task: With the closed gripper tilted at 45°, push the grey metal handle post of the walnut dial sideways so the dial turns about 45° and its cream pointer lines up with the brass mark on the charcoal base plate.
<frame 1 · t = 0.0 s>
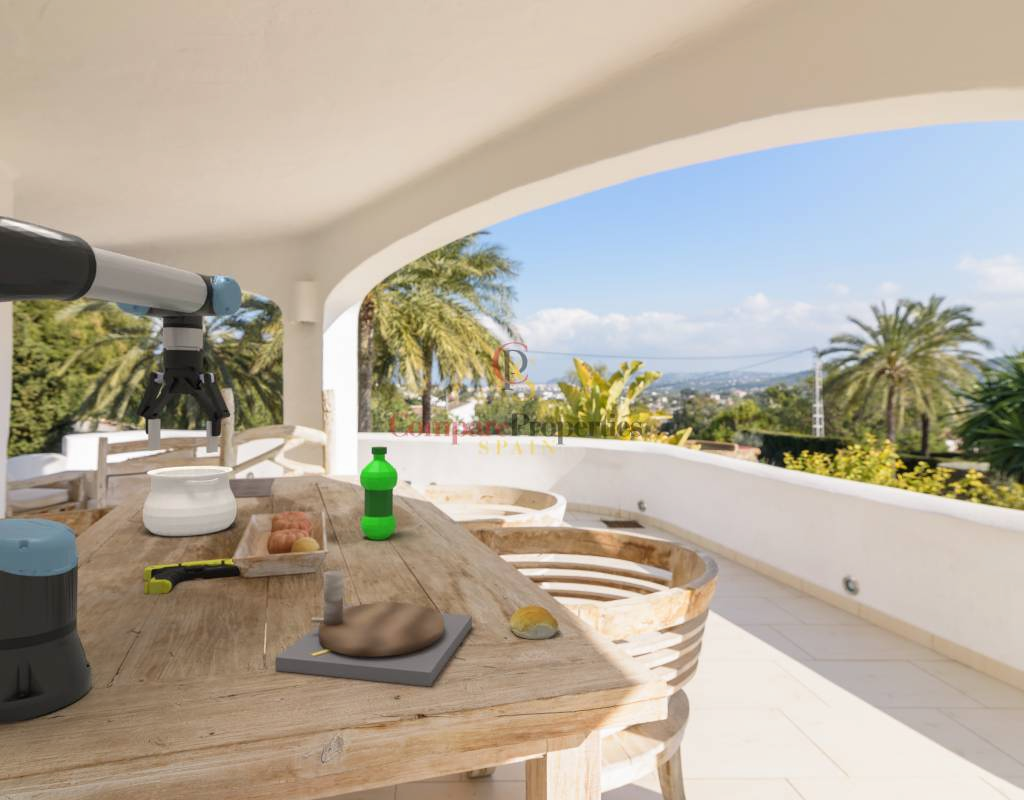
hand: (182, 451, 141), 28 cm above the table, tool pointing down, fingers open, 13 cm apart
stun gun: (193, 583, 144), on the table
plastic bottle: (378, 538, 186), on the table
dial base: (382, 646, 110), on the table
pot: (190, 529, 194), on the table
bread roll: (534, 632, 118), on the table
dial: (378, 602, 109), point 7 cm above the table, hinge at 0.0°
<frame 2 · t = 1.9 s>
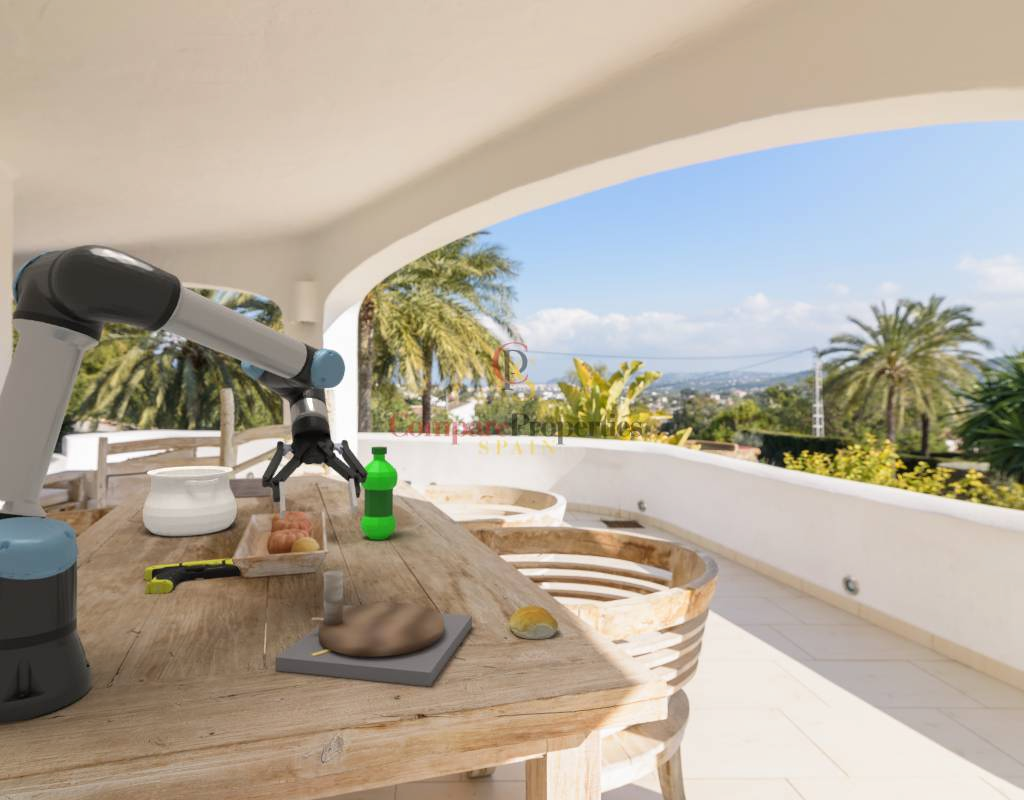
hand: (319, 512, 125), 19 cm above the table, tool tilted 45°, fingers open, 12 cm apart
nothing on the table moved.
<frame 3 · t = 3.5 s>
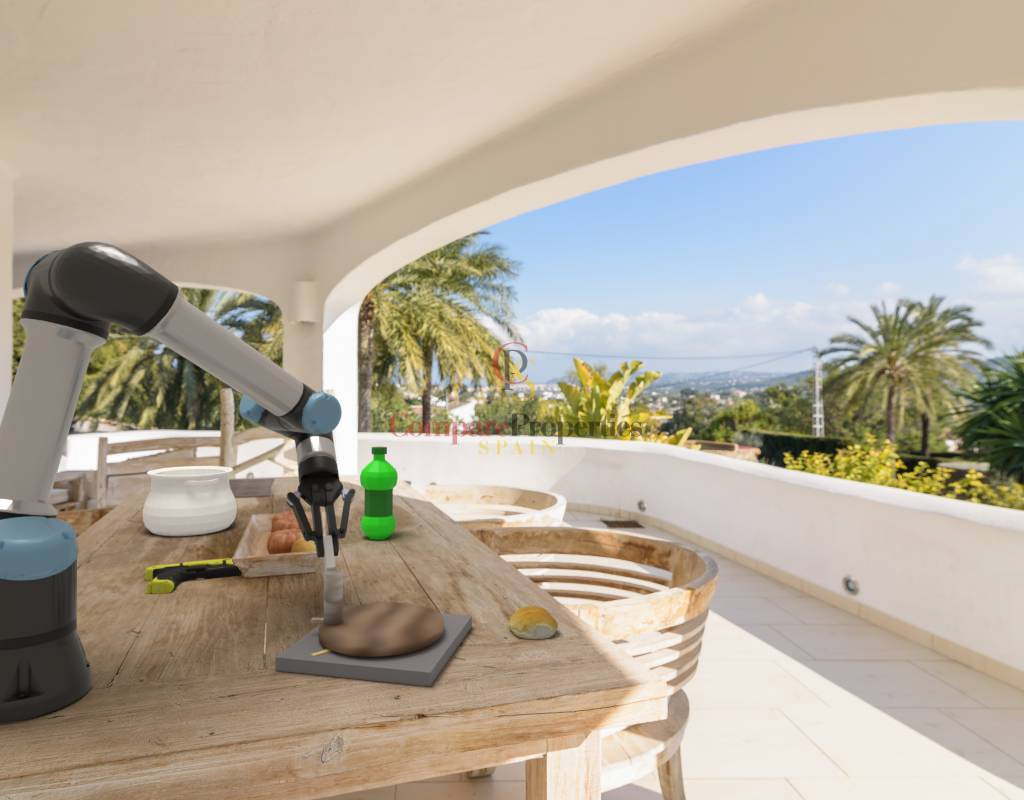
hand: (330, 571, 118), 10 cm above the table, tool tilted 45°, fingers closed
nothing on the table moved.
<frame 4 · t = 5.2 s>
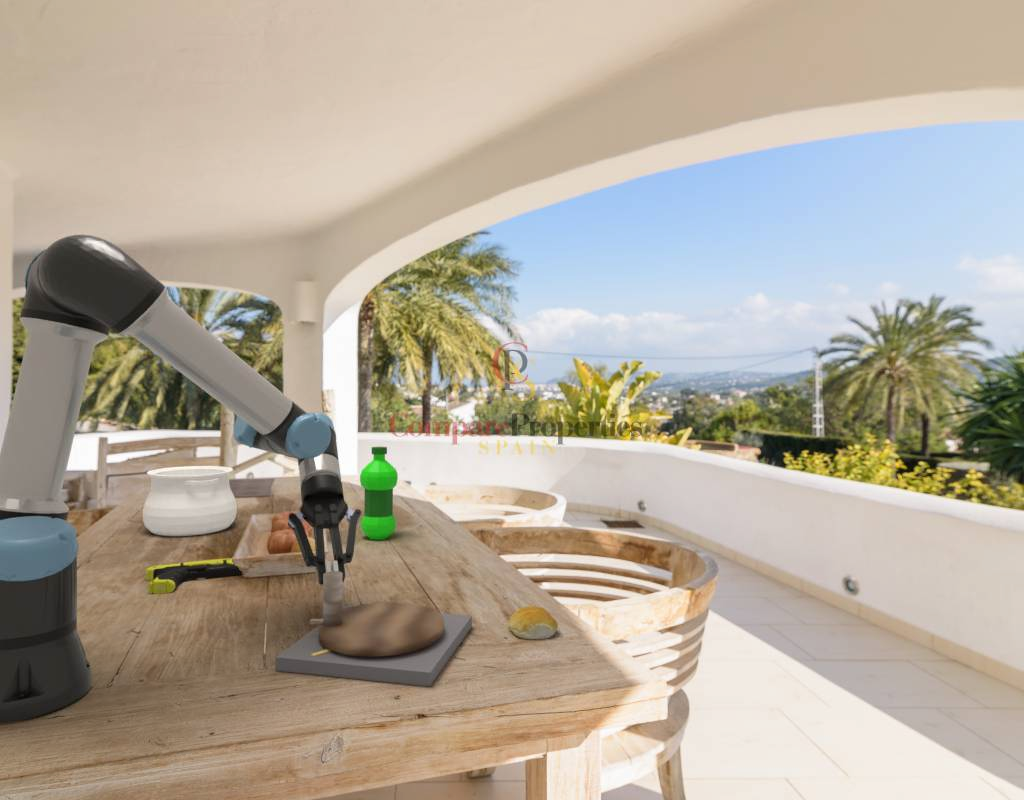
hand: (334, 599, 112), 7 cm above the table, tool tilted 45°, fingers closed
dial: (378, 602, 109), point 7 cm above the table, hinge at 3.0°, touching gripper
everything else where it was.
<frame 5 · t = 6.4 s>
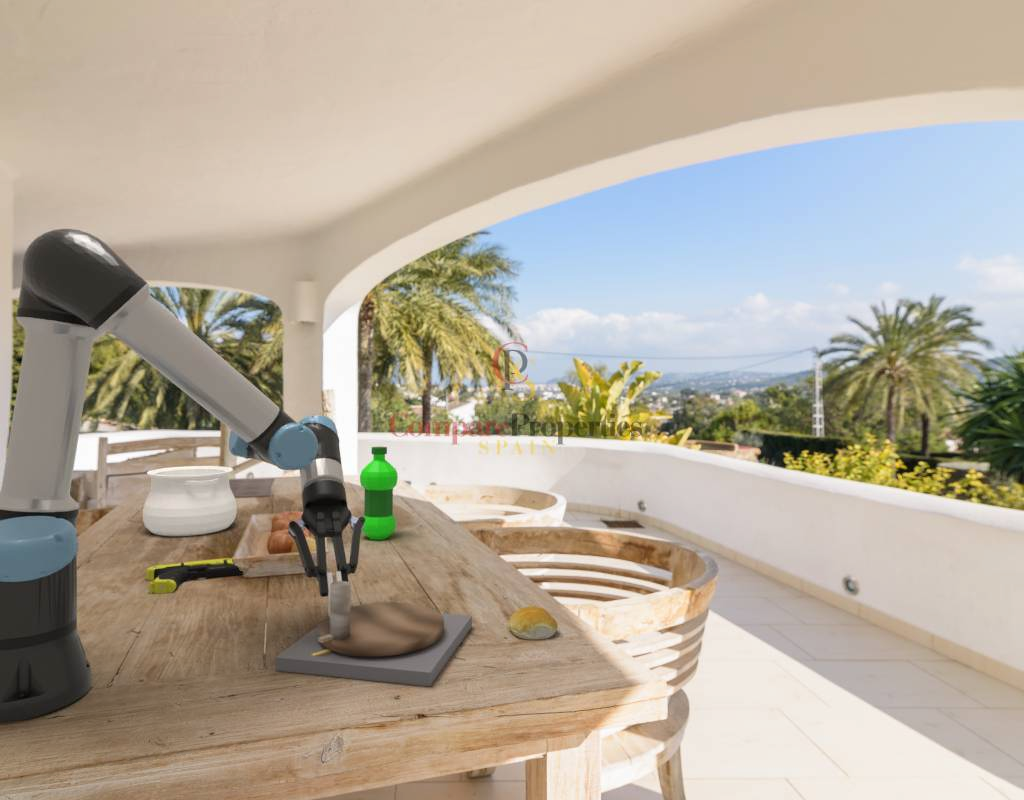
hand: (337, 612, 106), 7 cm above the table, tool tilted 45°, fingers closed, pressing on dial
dial: (378, 603, 109), point 7 cm above the table, hinge at 47.0°, touching gripper
everything else where it was.
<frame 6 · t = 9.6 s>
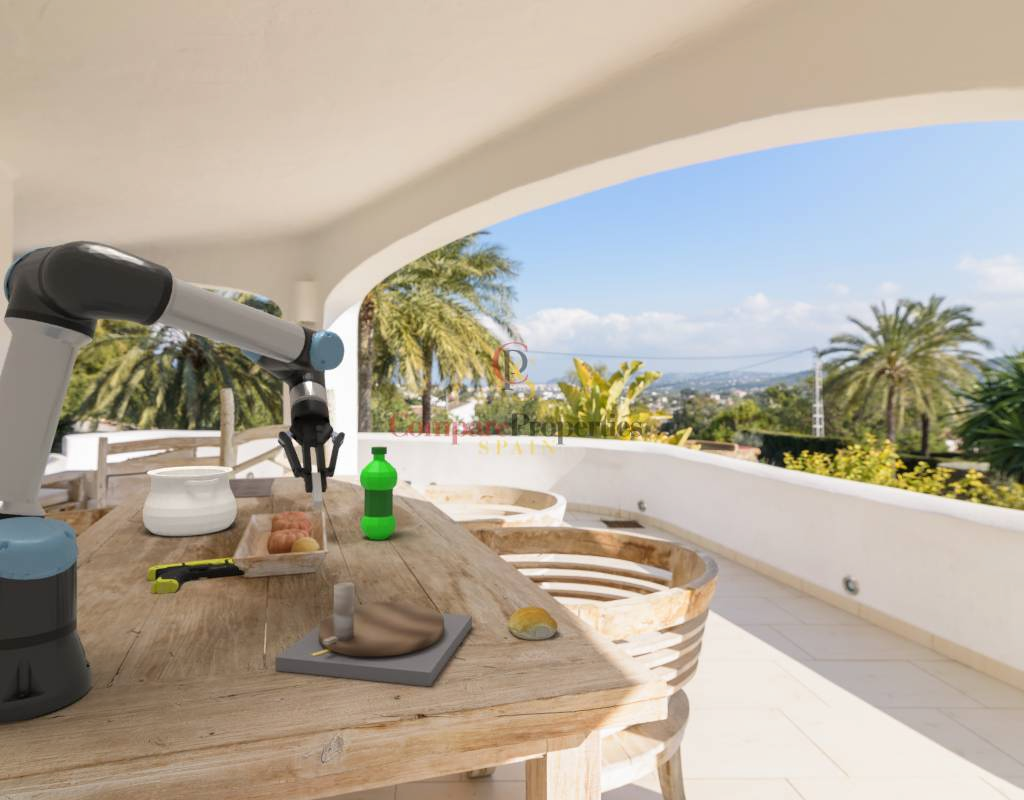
hand: (317, 505, 124), 20 cm above the table, tool tilted 45°, fingers closed
dial: (379, 603, 109), point 7 cm above the table, hinge at 53.5°
everything else where it was.
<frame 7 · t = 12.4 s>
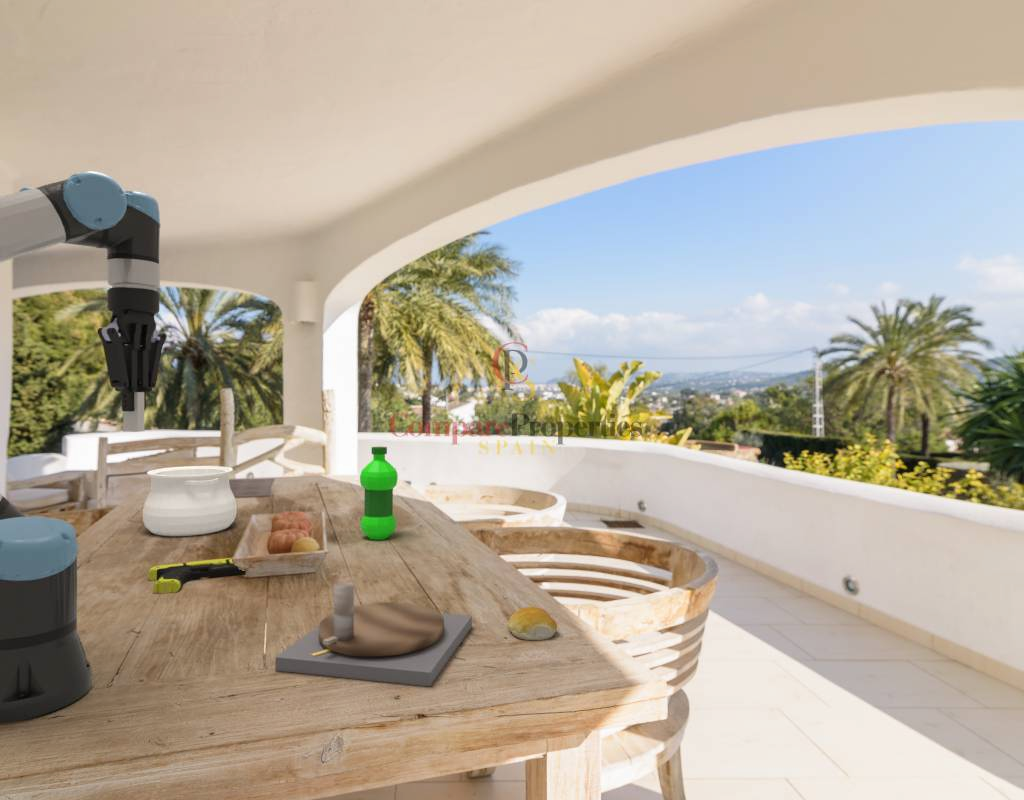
hand: (133, 431, 112), 34 cm above the table, tool pointing down, fingers closed
at the end: dial at +54° (first picture: +0°) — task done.
